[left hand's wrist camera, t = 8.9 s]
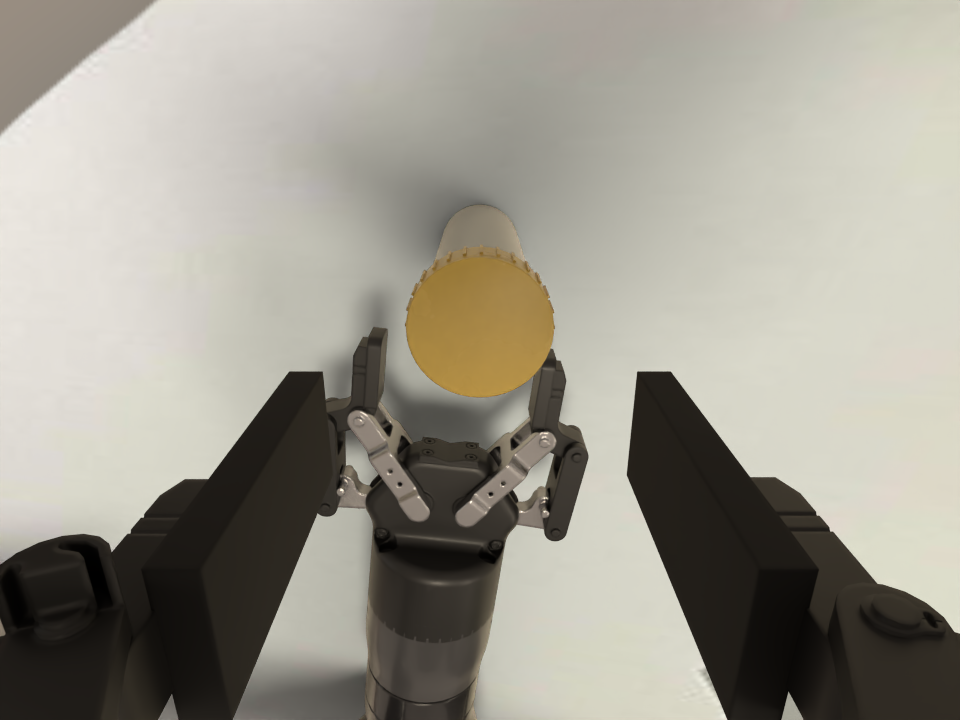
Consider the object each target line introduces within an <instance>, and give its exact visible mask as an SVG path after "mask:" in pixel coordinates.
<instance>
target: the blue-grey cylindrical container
mask: <svg viewBox="0 0 960 720" xmlns="http://www.w3.org/2000/svg"><path fill="white" fill-rule="evenodd" d="M480 245H483V247H491V248H496V247H499V249H500V250H503V251H506V252H508V253H512V252H513V253H515V256H516V257H518V258H519V259H521V260H522V261H523V262H525V257H524V254H523V251H522V248H521V245H520V242H519V239H518V236H517V232H516V229H515V227H514V225H513V223H512V222H511V220H510V219H509V218H508V217H507V216H506V215H505V214H504V213H503V212H502V211H500V210H498V209H497V208H494V207H492V206H488V205H472V206H469V207H466V208H463V209H461V210H460V211H458V212H457V213H456V214H455V215H453V217H452V218H451V219H450V220H449V222H448V223H447V225H446V227H445V230H444V232H443V236H442V239H441V242H440V245H439V248H438V251H437V254H436V257H435V260H436V259H437V260H439V259H441V258H442V257H444V256H446V255H447V254H448V252H449V251H451V252H454V251H457V250H460V249H463V247H464V246H467V248H469V247H480Z"/></svg>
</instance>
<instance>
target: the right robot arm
mask: <svg viewBox="0 0 960 720" xmlns="http://www.w3.org/2000/svg"><path fill="white" fill-rule="evenodd" d="M387 336H388V329H386V328H378V327H373V329H372V331H371V333H370V335H369V337H363V338H362V340H361V342H360V344H359V345H358V347H357V349H356V351H355V353H354V355H353V372H352V373H353V374H352V391H351V396H350V397H348V398H345V399H338V398H328V399H326V409H327V419H328V429H329V439H330V449H331V458H332V468H333V477H332V479H331V482H330V484H329V486H328V489H327V491H326V494H325V496H324V499H323V501H322V503H321V506H320V508H319V511H318V514H320V515H321V516H325V517H328V516H332V515H334V514H335V513H336V511H337V508H338V507H347V508H365V509H367V511H368V513H369V515H370V517H371V519H372V522H373V536H372V550H371V563H370V576H369V590H368V604H367V617H366V636H367V645H368V662H367V675H366V685H365V711H366V714H364V715H363V716H362V717H361V718H360V719H359V720H477V719H476V714H475V710H474V706H473V703H474V698H475V692H476V686H477V680H478V674H479V668H480V664H481V660H482V657H483V655H484V652H485V649H486V646H487V643H488V639H489V634H490V628H491V623H492V617H493V611H494V605H495V599H496V594H497V588H498V582H499V576H500V571H501V565H502V559H503V553H504V547H505V542H506V539H507V536H508V535H509V533H510V532H511V531H512V530H513V529H514V528H515V526H516V525H522V526H529V527H535V528H541V529H544V533H545V536H546V538H547V539H549V540H551V541H559V540H562V539H563V538H564V537H565V536H566V533H567V530H568V526H569V523H570V520H571V516H572V513H573V509H574V506H575V502H576V499H577V495H578V492H579V489H580V485H581V482H582V478H583V475H584V471H585V468H586V464H587V461H588V452H587V449H586V446H585V443H584V440H583V437H582V433H581V431H580V429H579V428H578V427H576V426H574V425H568V426H566V425H564V424H562V423H561V422H559V416H560V411H561V405H562V400H563V395H564V390H565V385H566V378H565V373H564V370H563V367H562V364H561V361H557V360H556V357H555V354H554V350H553V349H550V351H549V353H548V355H547V358H546V360H545V361H544V363H543V364H542V366H541V367H540V369H539V370H538V371H537V372H536V373H535V375H534V378H533V384H532V390H531V396H530V402H529V408H528V410H529V416H530V417H529V418H528V419H526V420H525V421H524V422H523V423H522V424H521V425H520V426H518V427H517V428H516V429H515V430H514V431H513V432H511V433H506V434H504V435H503V436H502V437H501V438H500V439H499V440H498V441H496V442H495V443H494V444H493V445H492V446H491V447H490V448H489V449H487V450H484V449H482V448H480V447H479V443H473V442H458V443H448V442H445V441H443V440H440V439H437V438H429V437H423V439H422V441H418V442H415V443H413V441H412V440H411V438H410V437H409V435H408V434H407V433H406V431H405V430H404V428H403V427H402V425H401V424H400V423H399V422H398V421H397V420H394V419H393V418H392V417H391V416H390V414H389V413H388V411H387V410H386V409H385V407H384V406H383V404H382V403H381V401H380V399H381V396H382V394H383V389H384V376H385V362H386V349H387ZM347 430H352V431H353V432H354V434H355V435H356V437H357V438H358V439H359V441H360V442H361V443H362V445H363V446H364V447H365V449H366V450H367V452H368V457H369V460H370V462H371V464H372V465H373V467H374V468H375V470H376V471H377V472H378V474H379V475H378V476H377V477H376V478H375V479H374V480H373V481H372V482H371V484H370V486H369V485H365V484H363V483H361V482H360V481H359V479H358V475H357V472H356V471H355V470H354V468H353V467H352V466H351V465H347V466H346V446H345V431H347ZM549 452H551V453H553V454H554V457H553V461H552V465H551V468H550V472H549V476H548V480H547V483H546V487H543V486H540V487H538V488H537V490H535V491H534V492H533V494H532V496H531V498H530V499H529V500H527V501H524V502H518V498H517V496H516V494H515V493H514V491H513V489H514V488H515V487H516V486H517V485H518V484H520V483H521V482H522V481H523V480H524V479H525V478H526V476H527V474H528V471H529V470H530V469H531V468H532V467H533V466H534V465H535V464H536V463H537V462H539V461H540V460H541V459H542V458H543V457H544V456H546V455H547V454H548V453H549Z"/></svg>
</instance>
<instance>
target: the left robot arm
mask: <svg viewBox="0 0 960 720" xmlns="http://www.w3.org/2000/svg"><path fill="white" fill-rule="evenodd" d="M332 477H333V468H332V458H331V449H330V439H329V429H328V419H327V409H326V400H325V390H324V380H323V372H289V373H288V374H287V375H286V377H285V378H284V379H283V381H282V382H281V383H280V385H279V386H278V387H277V389H276V390H275V391H274V393H273V394H272V395H271V397H270V398H269V399H268V401H267V402H266V403H265V405H264V406H263V407H262V409H261V410H260V411H259V413H258V414H257V415H256V417H255V418H254V419H253V421H252V422H251V423H250V425H249V426H248V427H247V429H246V430H245V431H244V433H243V434H242V435H241V437H240V438H239V439H238V441H237V442H236V443H235V445H234V446H233V447H232V449H231V450H230V451H229V453H228V454H227V455H226V457H225V458H224V459H223V461H222V462H221V463H220V465H219V466H218V467H217V468H216V470H215V471H214V472H213V474H212V475H211V476H210V478H209V479H185V480H183V481H182V482H180V483H179V484H177V485H175V486H174V487H172V488H171V489H169V490H168V491H166V492H165V493H163V494H162V495H160V496H159V497H158V499H157V500H156V501H155V502H154V503H153V504H152V506H151V507H150V508H149V509H148V510H147V511H146V513H145V514H144V518H141V519H140V520H139V521H138V522H137V523H136V524H135V526H134V527H133V528H132V529H131V533H130V534H127V535H126V536H125V537H124V539H123V540H122V541H121V542H120V543H119V545H118V546H117V547H116V548H115V549H114V550H113V552H111V549H110V545H109V543H107V542H106V541H105V540H103V539H102V538H101V537H99V536H93V535H87V534H78V535H68V536H61V537H57V538H54V539H50V540H47V541H43V542H40V543H37V544H35V545H33V546H31V547H29V548H27V549H25V550H22V551H20V552H18V553H16V554H15V555H13V556H12V557H11V558H9V559H8V560H6V561H5V562H4V563H2V564H1V565H0V620H1V623H2V625H3V628H4V631H5V635H4V636H0V720H158V718H159V717H160V715H161V713H162V711H163V709H164V707H165V705H166V703H167V702H168V700H169V698H170V696H171V694H172V695H173V699H174V703H175V707H176V711H177V715H178V719H179V720H233V717H234V715H235V713H236V710H237V708H238V705H239V703H240V700H241V698H242V696H243V693H244V691H245V688H246V686H247V683H248V681H249V679H250V676H251V674H252V671H253V669H254V666H255V664H256V662H257V659H258V657H259V654H260V652H261V649H262V647H263V644H264V642H265V640H266V637H267V635H268V632H269V630H270V627H271V625H272V623H273V620H274V618H275V615H276V613H277V610H278V608H279V606H280V603H281V601H282V598H283V596H284V593H285V591H286V589H287V586H288V584H289V581H290V579H291V576H292V574H293V572H294V569H295V567H296V564H297V562H298V559H299V557H300V554H301V552H302V550H303V547H304V545H305V542H306V540H307V537H308V535H309V533H310V530H311V528H312V525H313V523H314V520H315V518H316V516H317V513H318V511H319V508H320V506H321V503H322V501H323V499H324V496H325V494H326V491H327V489H328V486H329V484H330V482H331V479H332ZM627 477H628V479H629V482H630V484H631V486H632V489H633V491H634V494H635V496H636V499H637V501H638V503H639V506H640V508H641V511H642V513H643V516H644V518H645V520H646V523H647V525H648V528H649V530H650V533H651V535H652V537H653V540H654V542H655V545H656V547H657V550H658V552H659V554H660V557H661V559H662V562H663V564H664V567H665V569H666V572H667V574H668V576H669V579H670V581H671V584H672V586H673V589H674V591H675V593H676V596H677V598H678V601H679V603H680V606H681V608H682V610H683V613H684V615H685V618H686V620H687V623H688V625H689V627H690V630H691V632H692V635H693V637H694V640H695V642H696V644H697V647H698V649H699V652H700V654H701V657H702V659H703V662H704V664H705V666H706V669H707V671H708V674H709V676H710V679H711V681H712V683H713V686H714V688H715V691H716V693H717V696H718V698H719V700H720V703H721V705H722V708H723V710H724V713H725V715H726V717H727V720H781V719H782V715H783V711H784V707H785V703H786V699H787V695H788V691H789V693H790V695H791V697H792V698H793V700H794V702H795V704H796V706H797V708H798V710H799V711H800V713H801V715H802V717H803V720H960V634H959V633H955V632H954V631H953V630H952V628H951V627H950V625H949V624H948V622H947V621H946V620H945V618H944V617H943V616H942V615H940V614H939V613H938V612H937V611H935V610H934V609H933V608H932V607H931V606H929V605H928V604H927V603H925V602H923V601H922V600H920V599H918V598H916V597H914V596H912V595H910V594H908V593H906V592H904V591H901V590H898V589H895V588H892V587H889V586H886V585H882V584H877V583H876V582H875V580H874V579H873V578H872V577H871V576H870V574H869V573H868V572H867V571H866V570H865V569H864V567H863V566H862V565H861V564H860V563H859V562H858V560H857V559H856V558H855V557H854V556H853V555H852V553H851V552H850V551H849V550H848V549H847V548H846V546H845V545H844V544H843V543H842V542H841V541H840V539H839V538H838V537H837V536H836V535H835V533H834V532H830V530H829V526H828V525H827V524H826V523H825V522H824V521H823V519H822V518H821V517H820V516H817V515H816V511H815V510H814V509H813V508H812V507H811V505H810V504H809V503H808V502H807V501H806V499H805V498H804V497H803V496H802V495H801V494H800V493H799V492H797V491H796V490H794V489H793V488H791V487H790V486H788V485H786V484H785V483H783V482H782V481H780V480H779V479H777V478H776V477H750V476H749V475H748V474H747V472H746V471H745V470H744V468H743V467H742V466H741V465H740V463H739V462H738V461H737V459H736V458H735V457H734V455H733V454H732V453H731V451H730V450H729V449H728V447H727V446H726V445H725V443H724V442H723V441H722V439H721V438H720V437H719V435H718V434H717V433H716V431H715V430H714V429H713V427H712V426H711V425H710V423H709V422H708V421H707V419H706V418H705V417H704V415H703V414H702V413H701V411H700V410H699V409H698V407H697V406H696V405H695V403H694V402H693V401H692V399H691V398H690V397H689V395H688V394H687V393H686V391H685V390H684V389H683V387H682V386H681V385H680V383H679V382H678V381H677V379H676V378H675V377H674V375H673V374H672V373H671V372H637V380H636V390H635V400H634V409H633V419H632V429H631V439H630V449H629V458H628V468H627Z"/></svg>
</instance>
